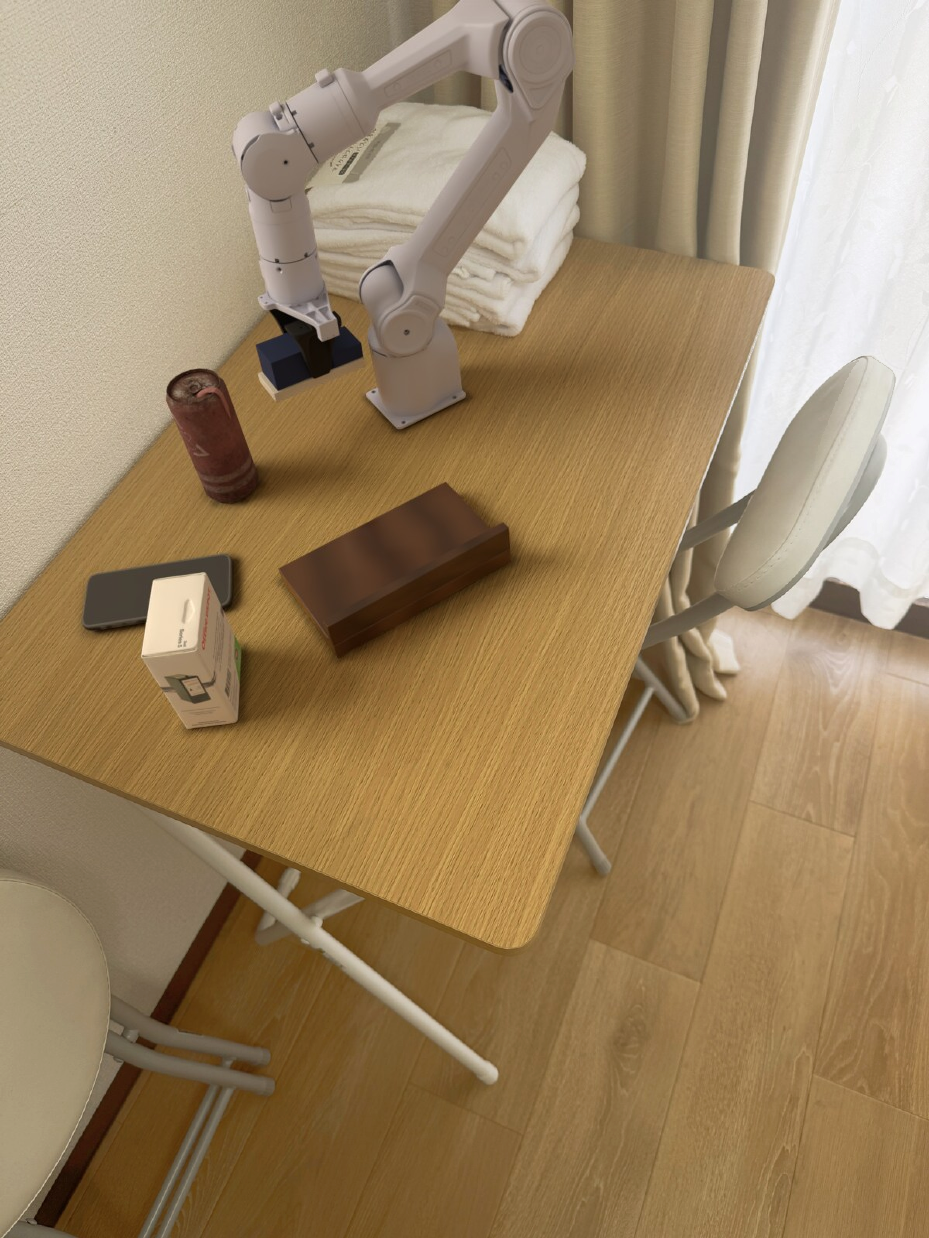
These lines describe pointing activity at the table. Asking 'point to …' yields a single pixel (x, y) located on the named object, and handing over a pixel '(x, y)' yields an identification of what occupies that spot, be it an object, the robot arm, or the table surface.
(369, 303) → the robot arm
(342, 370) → the navy block on plinth
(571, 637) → the table surface
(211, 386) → the can
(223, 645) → the ink box
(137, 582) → the smartphone
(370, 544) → the wooden lipped stand
